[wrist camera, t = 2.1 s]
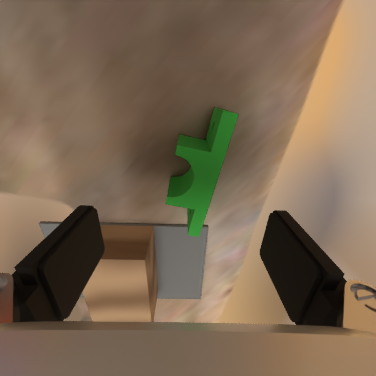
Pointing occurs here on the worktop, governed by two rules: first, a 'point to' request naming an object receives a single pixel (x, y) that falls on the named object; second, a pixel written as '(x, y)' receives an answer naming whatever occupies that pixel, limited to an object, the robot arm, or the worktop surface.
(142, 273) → the base brick
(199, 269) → the mat
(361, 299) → the robot arm
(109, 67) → the worktop surface
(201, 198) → the green notched block
